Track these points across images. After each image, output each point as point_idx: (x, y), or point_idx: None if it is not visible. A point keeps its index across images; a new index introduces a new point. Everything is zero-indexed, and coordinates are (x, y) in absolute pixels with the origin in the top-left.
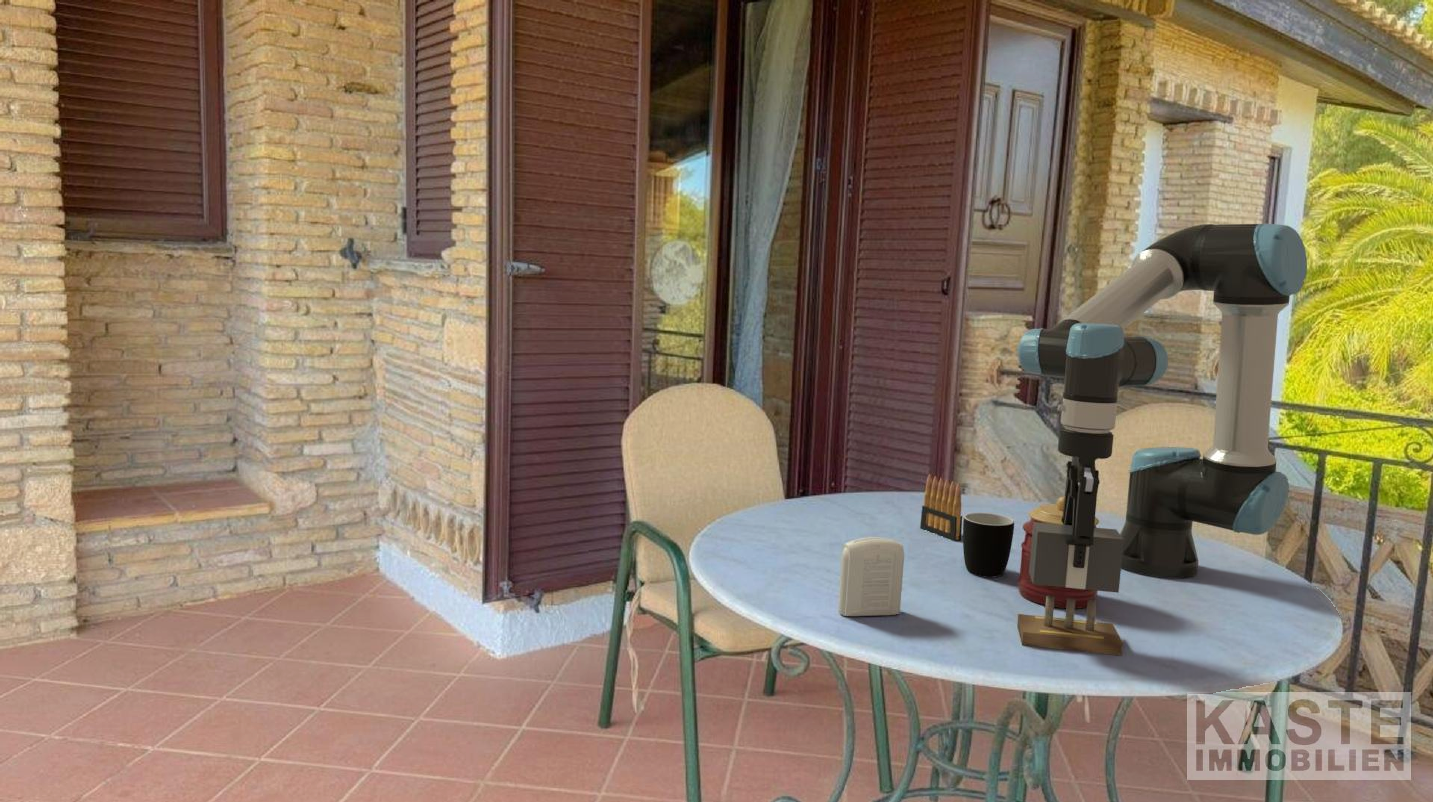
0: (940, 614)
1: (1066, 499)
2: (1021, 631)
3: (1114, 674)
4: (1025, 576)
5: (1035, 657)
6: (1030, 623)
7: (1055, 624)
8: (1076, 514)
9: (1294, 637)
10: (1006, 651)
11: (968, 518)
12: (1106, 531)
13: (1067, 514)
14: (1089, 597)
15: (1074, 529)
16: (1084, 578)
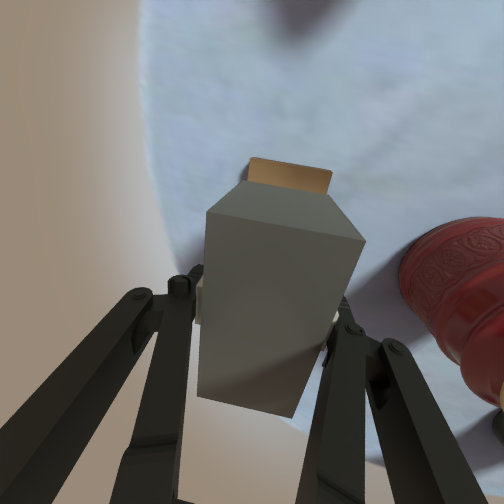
0: (398, 17)
1: (415, 434)
2: (272, 161)
3: (183, 243)
4: (492, 229)
5: (212, 164)
6: (288, 180)
7: None
8: (89, 362)
9: (305, 416)
10: (225, 125)
11: None
12: (265, 395)
13: (332, 367)
14: (406, 302)
15: (161, 320)
16: None
